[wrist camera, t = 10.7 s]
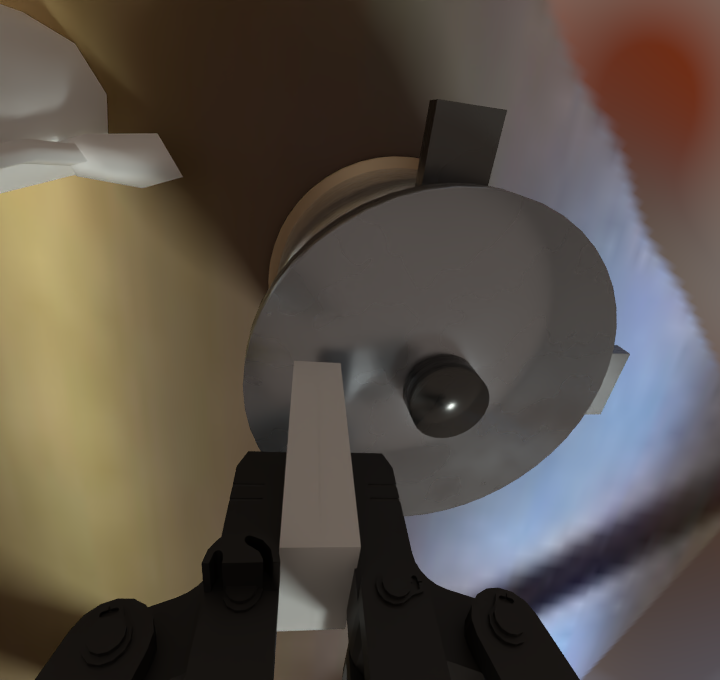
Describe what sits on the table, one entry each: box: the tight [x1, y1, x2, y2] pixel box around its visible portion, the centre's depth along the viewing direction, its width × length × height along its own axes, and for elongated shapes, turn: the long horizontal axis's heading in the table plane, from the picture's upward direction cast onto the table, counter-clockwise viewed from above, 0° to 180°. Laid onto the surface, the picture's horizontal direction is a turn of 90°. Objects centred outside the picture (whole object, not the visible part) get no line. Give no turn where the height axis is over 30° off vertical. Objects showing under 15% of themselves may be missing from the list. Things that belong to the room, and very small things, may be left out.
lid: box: [243, 183, 630, 516], centre depth 15 cm, size 15×14×2 cm
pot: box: [277, 99, 507, 275], centre depth 21 cm, size 14×18×8 cm
